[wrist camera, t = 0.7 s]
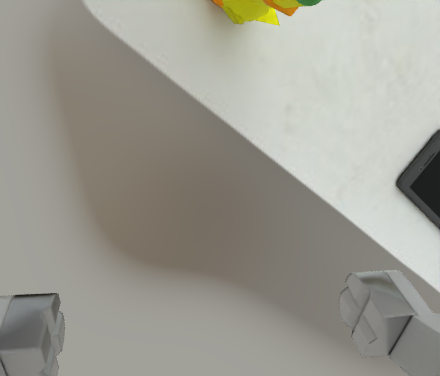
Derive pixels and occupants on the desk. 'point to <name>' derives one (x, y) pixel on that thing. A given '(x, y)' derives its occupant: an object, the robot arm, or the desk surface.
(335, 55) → the desk surface
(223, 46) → the desk surface
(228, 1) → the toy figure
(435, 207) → the cell phone
